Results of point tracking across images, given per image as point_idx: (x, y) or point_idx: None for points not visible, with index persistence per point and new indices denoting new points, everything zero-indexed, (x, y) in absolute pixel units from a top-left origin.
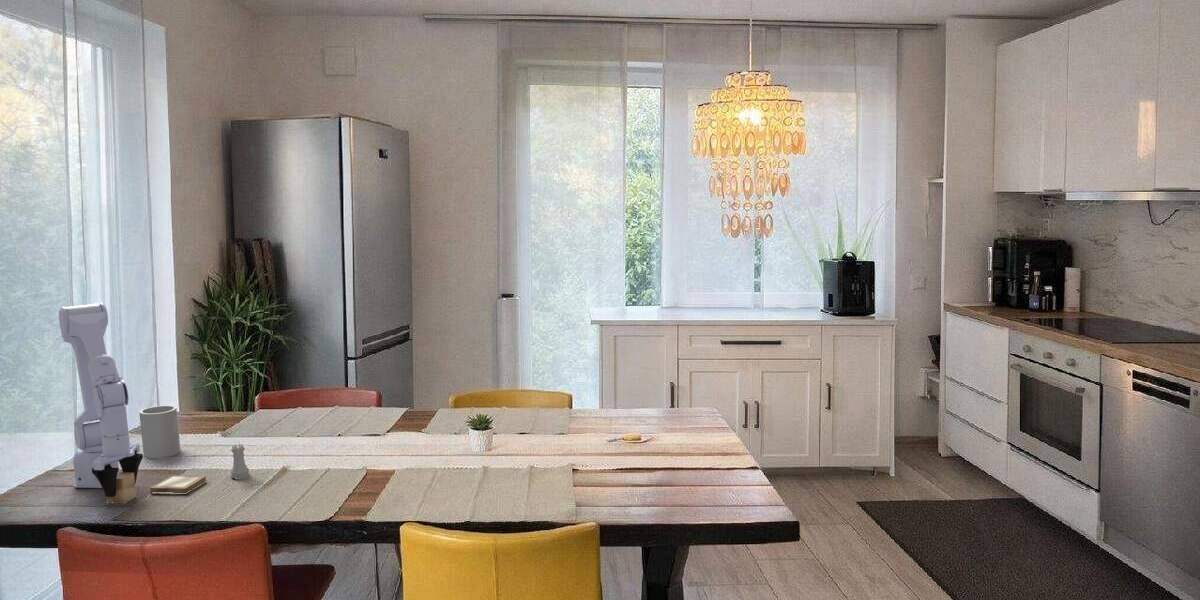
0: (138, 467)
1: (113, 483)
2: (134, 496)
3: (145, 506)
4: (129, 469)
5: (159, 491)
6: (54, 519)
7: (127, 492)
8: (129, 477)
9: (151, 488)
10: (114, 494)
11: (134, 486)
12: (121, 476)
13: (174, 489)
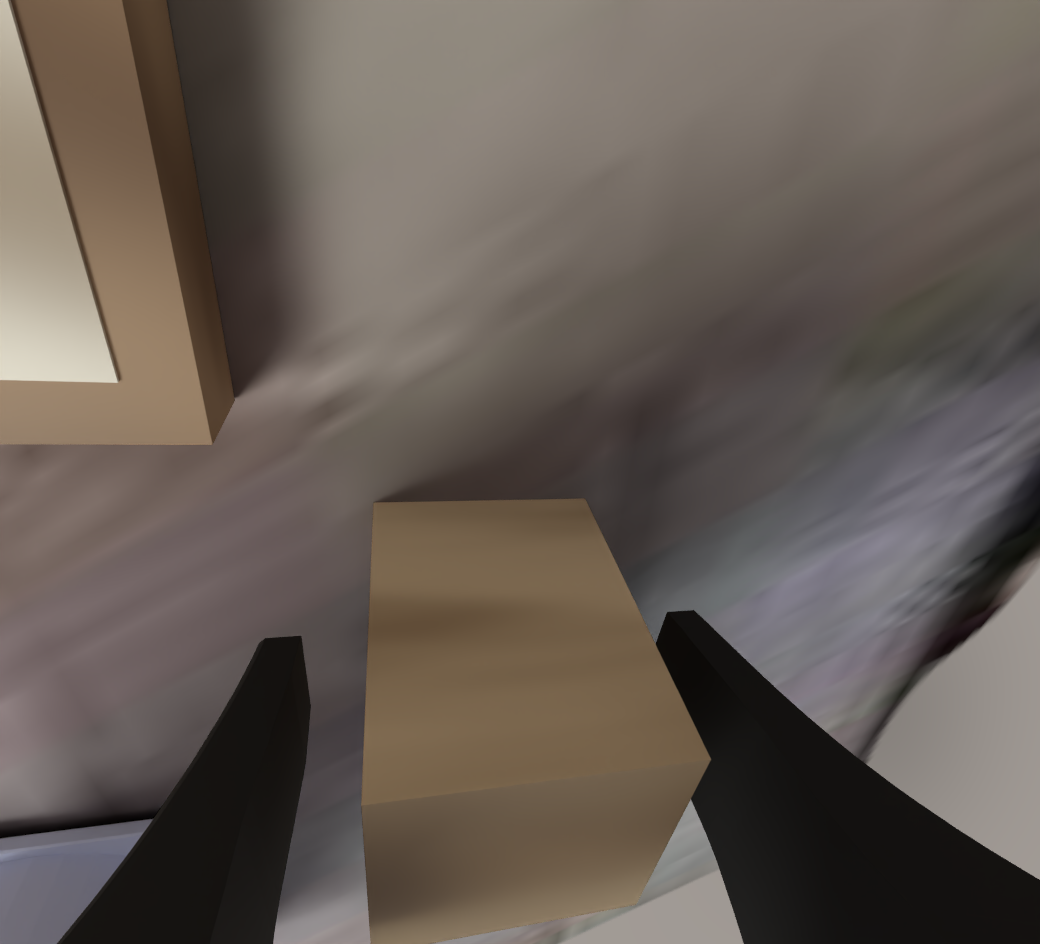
0: (105, 899)
1: (834, 741)
2: (409, 512)
3: (728, 202)
4: (250, 924)
5: (197, 273)
6: (824, 719)
7: (545, 570)
8: (504, 740)
9: (209, 420)
10: (704, 624)
11: (391, 597)
12: (589, 821)
13: None
